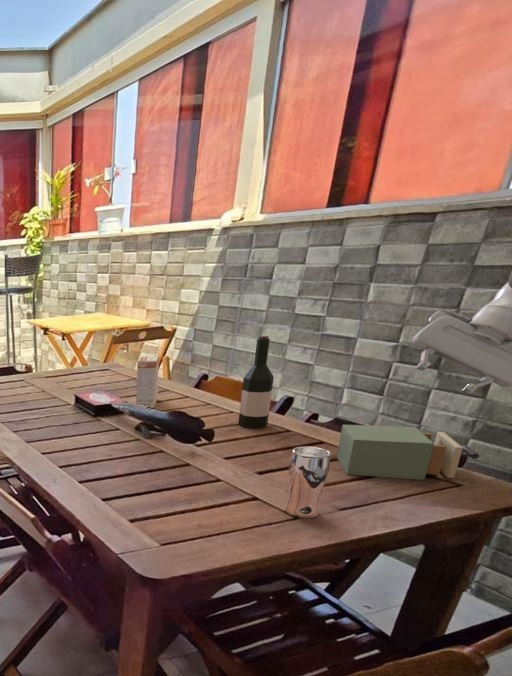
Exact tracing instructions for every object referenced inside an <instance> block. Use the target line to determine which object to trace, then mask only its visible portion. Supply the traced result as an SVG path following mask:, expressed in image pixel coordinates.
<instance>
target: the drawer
mask: <svg viewBox="0 0 512 676" xmlns="http://www.w3.org/2000/svg"><path fill="white" fill-rule="evenodd" d="M422 433H423V434H424V435H425V436H426V437H427V438H428V439H429V440H431V441H432V436H433V434H432V433H429V432H422ZM433 443H434V445H433V449H432V453H431V457H430V460H429V464H428V468H427V472H426V475H437V476H439V475H440V473H442V474H443V475H444V476H445V477H446V478H448V479H449V478H452V479H455V476H456V472H457V469H458V466H459V463H460V459H461V457H464V458H465V457H466V458H467V457H468V458H471V459H472V460H477V459H479V458H480V454H479V453H477V452H476V451H475V450H474V449H472V448H471V447H470V446H469V445H467V444H464V445H461V444H459V443H458V442H457V441H455V440H454V439H453V438H451V436H449V435H448V434H446V433H445V432H444V431H437V432H436V436H435V439H434V442H433ZM462 452H463V453H462Z"/></svg>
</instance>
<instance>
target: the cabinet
mask: <svg viewBox="0 0 512 676" xmlns="http://www.w3.org/2000/svg"><path fill="white" fill-rule="evenodd" d="M341 425H342V426H341V431H340V436H339V442H338V446H337V452H336V457H335V458H336V459H337V460H338V462H339V464H340V465H341V467H342V469H343V470H344V472H345V474H346V475H350V476H362V477H363V476H364V477H365V476H366V477H379V478H392V479H404V480H406V479H407V480H416V481H417V480H418V481H425V479H426V476H427V474H426V472H427V468H428V464H429V460H430V457H431V453H432V449H433V445H434V443H435V442H433V441H432V439H431V440H429V439H428V438H427V437H426V436H425V435H424V434H423V433H424V432H422V431H421V430H420V429H418V428H417V427H415V426H392V425H367V424H365V425H364V424H362V425H360V424H341Z"/></svg>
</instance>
